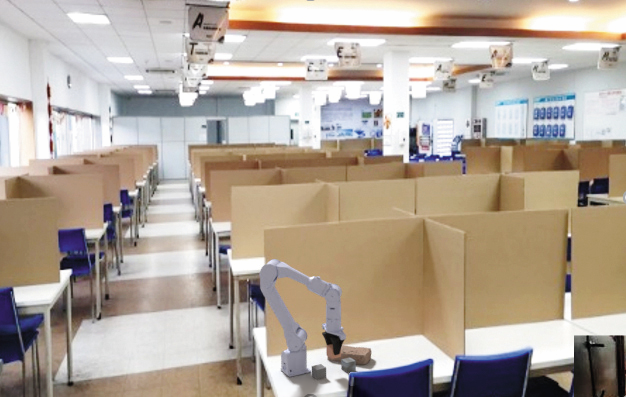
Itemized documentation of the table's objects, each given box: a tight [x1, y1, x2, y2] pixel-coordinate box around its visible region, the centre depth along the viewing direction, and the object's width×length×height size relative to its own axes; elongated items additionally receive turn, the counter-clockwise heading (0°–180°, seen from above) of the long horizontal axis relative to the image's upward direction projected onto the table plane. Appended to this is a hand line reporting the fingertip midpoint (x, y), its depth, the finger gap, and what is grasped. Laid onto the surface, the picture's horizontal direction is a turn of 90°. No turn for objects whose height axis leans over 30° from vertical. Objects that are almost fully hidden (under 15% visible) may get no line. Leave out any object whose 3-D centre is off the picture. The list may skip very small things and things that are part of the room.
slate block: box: [340, 358, 357, 374], centre depth 215 cm, size 4×4×4 cm
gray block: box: [311, 363, 327, 381], centre depth 209 cm, size 4×4×4 cm
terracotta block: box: [326, 344, 341, 359], centre depth 212 cm, size 4×4×4 cm
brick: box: [326, 344, 372, 365], centre depth 226 cm, size 17×8×5 cm, turn 69°
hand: (333, 352), depth 212 cm, fingers closed on terracotta block, 4 cm apart
